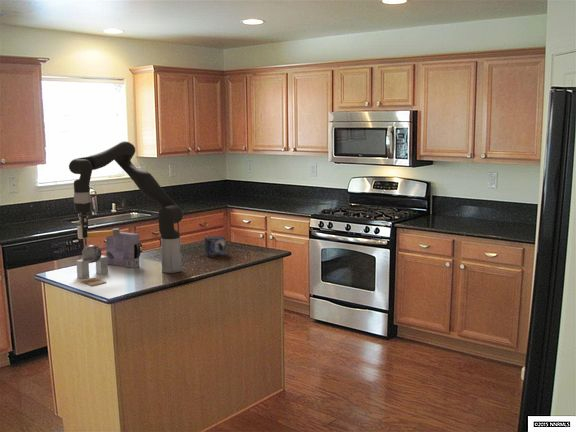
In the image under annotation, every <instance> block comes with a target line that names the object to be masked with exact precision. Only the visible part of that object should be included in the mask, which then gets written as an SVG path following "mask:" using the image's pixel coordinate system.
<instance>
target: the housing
mask: <svg viewBox="0 0 576 432" xmlns="http://www.w3.org/2000/svg"><path fill="white" fill-rule="evenodd" d="M81 257H82V258H81V259H77V260H76V277H77V278H78V279H82V280H86V279H90V265H89V264H94V263H95V273H96V274H98V275H105V274H106V275H107V274H109V268H108V267H109V266H108V265H109V264H108V263H107V256H106V255H102V249H101V248H100V247H99V246H97V245H94V244H87V245H85V246H84V247H83V248H82V250H81Z"/></svg>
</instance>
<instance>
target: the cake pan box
mask: <svg viewBox="0 0 576 432" xmlns="http://www.w3.org/2000/svg"><path fill="white" fill-rule="evenodd" d="M105 238H106V239H105V240H106V241H105V243H106V244H105V245H106V246H105V253H106V254H105V256H107V263H108V265H110V266H111V265H112V266H117V267H122V268H123V267H125V268H131V269H135V268H138V267H140V256H141V250H142V249H141V248H142V247H141V244H140V234H139V233H133V232H126V231H120V235H118V236H105Z"/></svg>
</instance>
